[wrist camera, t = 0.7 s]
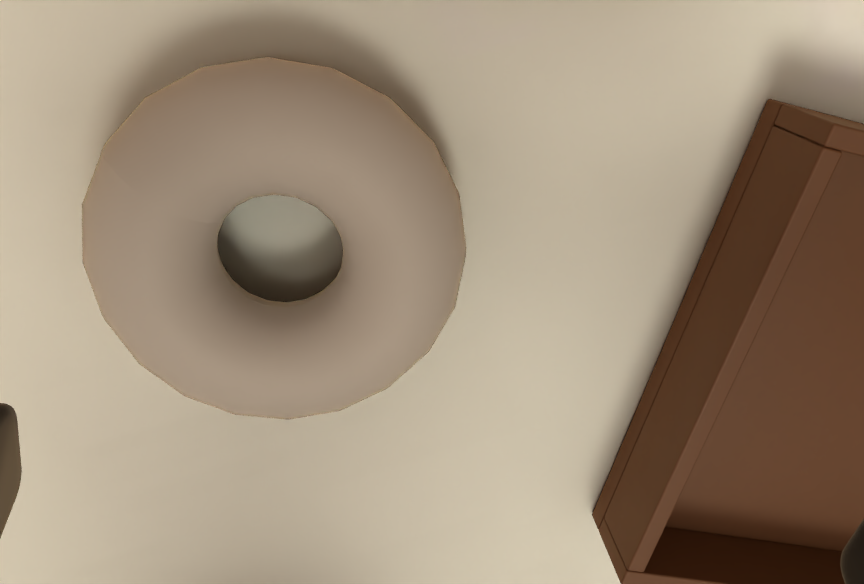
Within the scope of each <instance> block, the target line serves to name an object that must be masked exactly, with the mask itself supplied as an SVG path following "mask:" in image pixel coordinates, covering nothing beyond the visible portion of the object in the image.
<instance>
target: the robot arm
mask: <svg viewBox="0 0 864 584" xmlns="http://www.w3.org/2000/svg"><path fill="white" fill-rule="evenodd" d="M21 472H22V470H21V457H20V446H19V435H18V424H17V416H16V413H15V411H14V409H13V408H12V407H11V406H10V405H8V404H4V403H0V538H1V535H2V532H3V530H4V527H5V525H6V522H7V520H8V517H9V514H10V512H11V509H12V507H13V504H14V502H15V499H16V496H17V493H18V490H19V486H20V481H21ZM840 566H841V572H842V576H843V579H844V582H845V584H864V519H863V521H862V522H861V524H860V525H859V526H858V528H857V529H856V531H855V532H854V534H853V535H852V537H851V538H850V540H849V541H848V543H847V544H846V546H845V547H844V549H843V551H842V554H841V560H840Z"/></svg>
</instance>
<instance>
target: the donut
mask: <svg viewBox="0 0 864 584" xmlns="http://www.w3.org/2000/svg"><path fill="white" fill-rule="evenodd" d="M273 194H275V195H283V196H290V197H296V198H298V199H301V200H303V201H305V202H307V203H309V204H311V205H314V206H316V207H317V208H318V209H319V210H320V211H321V212H323V213H324V214H325V215H326V216H327V217H328V218H329V219H330V220H332V222H333V224H334V225H335V227H336V229H337V230H338V232H339V234H340V237H341V242H342V247H343V256H342V263H341V269H340V270H339V272H338V274H337V276H336V278H335V279H334V280H333V281H332V282H331V283H330V284H329V285H328V286H327V287H326V288H325V289H324V290H323V291H321V292H319V293H317V294H315V295H313V296H311V297H309V298H307V299H303V300H297V301H291V302H279V301H270V300H265V299H263V298H260V297H258V296H255V295H253V294H251V293H248V292H247V291H246V290H244V289H243V288H242V287H241V286H239V285H238V284H237V283H236V282H235V281H233V280H232V278H231V277H230V275H229V274H228V272H227V271H226V269H225V268H224V266H223V265H222V263H221V259H220V256H219V252H218V249H217V238H218V233H219V230H220V228H221V226H222V224H223V221H224V219H225V217H226V216H227V215H228V214H229V213H230V212H231V211H232V210H233V209H234V208H235V207H236V206H237V205H239V204H241V203H243V202H245V201H247V200H249V199H251V198H254V197H260V196H267V195H273ZM82 248H83V264H84V267H85V270H86V273H87V275H88V278H89V281H90V283H91V286H92V289H93V292H94V294H95V297H96V300H97V302H98V305H99V308H100V311H101V313H102V316H103V318H104V319H105V321H106V322H107V323H108V325H109V326H110V327H111V329H112V330H113V331H114V332H115V334H116V335H117V336H118V337H119V339H120V340H121V341H122V343H123V344H124V345H125V346H126V348H127V349H128V350H129V351H130V353H131V354H132V355H133V357H134V358H135V359H136V360H137V362H138V363H139V364H140V365H142V366H143V367H144V368H146V369H147V370H149V371H150V372H151V373H153V374H154V375H156V376H157V377H158V378H160V379H161V380H163V381H164V382H165V383H167V384H168V385H170V386H171V387H172V388H174V389H175V390H177V391H178V392H179V393H181V394H182V395H184V396H186V397H189V398H191V399H194V400H197V401H200V402H202V403H205V404H208V405H211V406H213V407H216V408H219V409H221V410H224V411H227V412H230V413H232V414H235V415H246V416H257V417H267V418H278V419H294V418H300V417H306V416H311V415H317V414H323V413H329V412H335V411H340V410H342V409H344V408H347V407H349V406H351V405H353V404H355V403H357V402H359V401H361V400H364V399H366V398H368V397H370V396H372V395H374V394H376V393H379V392H381V391H383V390H385V389H387V388H388V387H389V386H391V385H392V384H393V383H394V382H395V381H396V380H397V379H399V378H400V377H401V376H402V375H403V374H404V373H405V372H406V371H408V370H409V369H410V368H411V367H412V366H413V365H414V364H415V363H416V362H418V361H419V360H420V359H421V358H422V357H423V356H424V355H425V354H427V353H428V352H429V350H430V349H431V347H432V345H433V344H434V342H435V340H436V338H437V337H438V335H439V333H440V332H441V330H442V328H443V327H444V325H445V323H446V322H447V320H448V318H449V316H450V315H451V313H452V311H453V310H454V308H455V305H456V300H457V295H458V290H459V286H460V281H461V276H462V271H463V266H464V262H465V257H466V243H465V235H464V227H463V220H462V212H461V204H460V196H459V193H458V191H457V189H456V187H455V184H454V182H453V180H452V178H451V176H450V174H449V172H448V170H447V168H446V166H445V164H444V162H443V160H442V158H441V156H440V154H439V152H438V150H437V148H436V146H435V144H434V142H433V141H432V140H431V139H430V138H429V137H428V136H427V135H426V134H425V133H424V132H423V131H422V130H421V129H420V128H419V127H418V126H417V125H416V124H415V123H414V122H413V121H412V120H411V119H410V118H409V116H408V115H407V114H406V113H405V112H404V111H403V110H402V109H401V108H400V107H399V106H398V105H397V104H396V103H395V102H394V101H393V100H392V99H391V98H389V97H388V96H386V95H384V94H382V93H380V92H378V91H376V90H374V89H372V88H370V87H368V86H366V85H364V84H363V83H361V82H359V81H357V80H355V79H353V78H351V77H349V76H347V75H345V74H343V73H341V72H339V71H337V70H336V69H334V68H330V67H324V66H318V65H312V64H306V63H300V62H294V61H288V60H283V59H277V58H271V57H263V58H256V59H250V60H244V61H237V62H231V63H224V64H218V65H212V66H205V67H201V68H199V69H197V70H195V71H193V72H192V73H190V74H188V75H186V76H184V77H182V78H180V79H179V80H177V81H175V82H173V83H171V84H169V85H167V86H165V87H164V88H162V89H160V90H158V91H156V92H154V93H152V94H151V95H149V96H147V97H145V98H144V100H143V101H142V102H141V103H140V104H139V105H138V106H137V108H136V109H135V110H134V111H133V112H132V113H131V114H130V116H129V117H128V118H127V119H126V120H125V121H124V122H123V124H122V125H121V126H120V127H119V128H118V129H117V130H116V131H115V133H114V134H113V135H112V136H111V137H110V138H109V139H108V141H107V142H106V143H105V145H104V147H103V149H102V152H101V155H100V157H99V160H98V163H97V166H96V168H95V171H94V174H93V176H92V179H91V182H90V185H89V187H88V190H87V193H86V196H85V198H84V201H83V204H82Z"/></svg>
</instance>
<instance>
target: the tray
mask: <svg viewBox="0 0 864 584" xmlns="http://www.w3.org/2000/svg"><path fill="white" fill-rule="evenodd" d="M592 516H593V518H594V521H595V523H596V526H597V528H598V529H599V532H600V535H601V537H602V540H603V542H604V544H605V547H606V549H607V552H608V554H609V556H610V559H611V561H612V563H613V566H614V568H615V571H616V573H617V575H618V578H619V580H620V583H621V584H845V582H844V579H843V576H842V572H841V566H840V560H841V554H842V551H843V549H844V547H845V546H846V544H847V543H848V541H849V540H850V538H851V537H852V535H853V534H854V532H855V531H856V529H857V528H858V526H859V525H860V524H861V522H862V521H863V519H864V124H862V123H858V122H855V121H851V120H847V119H843V118H840V117H836V116H832V115H828V114H825V113H821V112H817V111H813V110H810V109H806V108H802V107H798V106H795V105H791V104H787V103H783V102H780V101H776V100H772V99H768V100H767V103H766V105H765V107H764V110H763V112H762V114H761V117H760V119H759V122H758V124H757V126H756V129H755V131H754V133H753V136H752V138H751V140H750V143H749V145H748V148H747V150H746V152H745V155H744V157H743V159H742V162H741V164H740V166H739V169H738V171H737V174H736V176H735V178H734V181H733V183H732V185H731V188H730V190H729V192H728V195H727V197H726V200H725V202H724V204H723V207H722V209H721V211H720V214H719V216H718V218H717V221H716V223H715V226H714V228H713V230H712V233H711V235H710V237H709V240H708V242H707V244H706V247H705V249H704V252H703V254H702V256H701V259H700V261H699V263H698V266H697V268H696V270H695V273H694V275H693V278H692V280H691V282H690V285H689V287H688V289H687V292H686V294H685V296H684V299H683V301H682V303H681V306H680V308H679V311H678V313H677V315H676V318H675V320H674V322H673V325H672V327H671V329H670V332H669V334H668V337H667V339H666V341H665V344H664V346H663V348H662V351H661V353H660V355H659V358H658V360H657V363H656V365H655V367H654V370H653V372H652V374H651V377H650V379H649V381H648V384H647V386H646V389H645V391H644V393H643V396H642V398H641V400H640V403H639V405H638V407H637V410H636V412H635V415H634V417H633V419H632V422H631V424H630V426H629V429H628V431H627V433H626V436H625V438H624V441H623V443H622V445H621V448H620V450H619V452H618V455H617V457H616V459H615V462H614V464H613V467H612V469H611V471H610V474H609V476H608V478H607V481H606V483H605V485H604V488H603V490H602V493H601V495H600V497H599V500H598V502H597V504H596V507H595V509H594V511H593V514H592Z"/></svg>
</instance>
